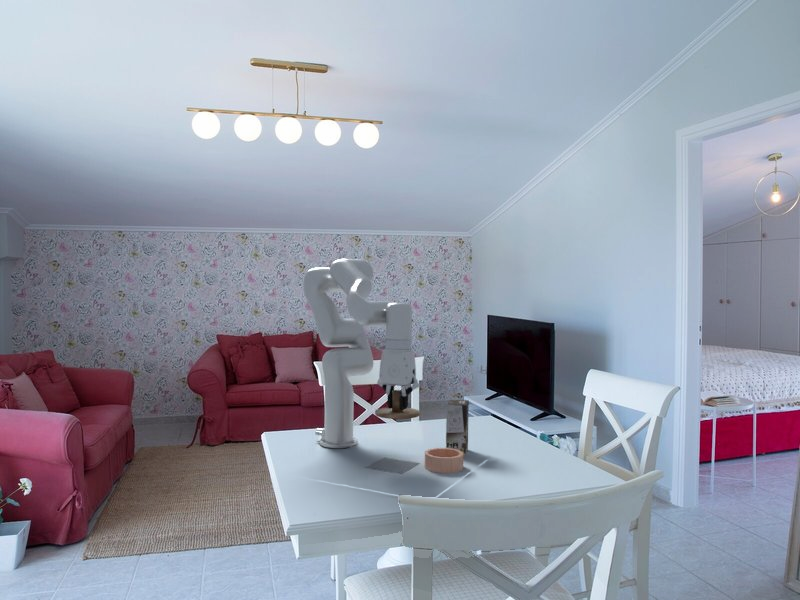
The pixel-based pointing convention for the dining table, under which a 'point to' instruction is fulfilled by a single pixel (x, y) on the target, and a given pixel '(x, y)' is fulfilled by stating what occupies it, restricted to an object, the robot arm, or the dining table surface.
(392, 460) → the mat
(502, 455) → the dining table surface
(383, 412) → the lid
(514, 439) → the dining table surface
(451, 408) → the coffee box
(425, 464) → the bowl
